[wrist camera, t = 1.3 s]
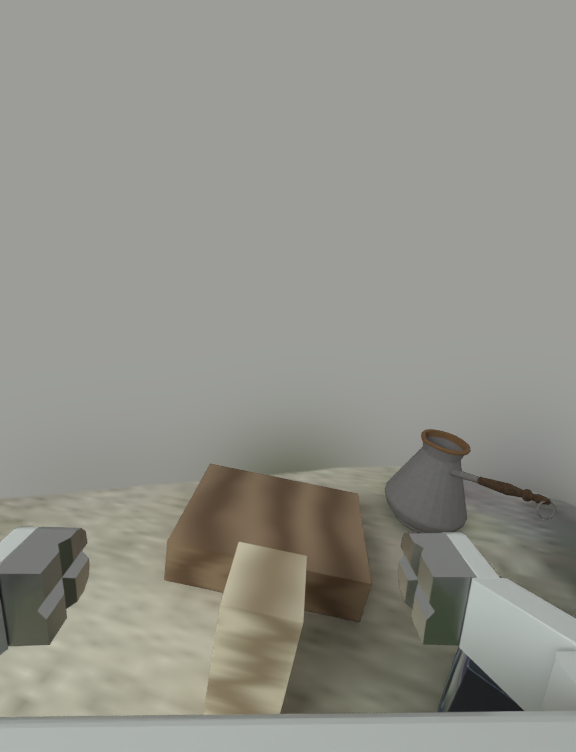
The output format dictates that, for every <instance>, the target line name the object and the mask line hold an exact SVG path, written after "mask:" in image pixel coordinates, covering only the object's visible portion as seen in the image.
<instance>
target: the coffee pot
mask: <svg viewBox="0 0 576 752" xmlns="http://www.w3.org/2000/svg"><path fill="white" fill-rule="evenodd" d="M421 437H422V440H423V447H422V448H421V449H420V450H419V451H418V452H417V453H416V454H415V455H414V456H413V457H412V458H411V459H410V460H409V461H408V462H407V463H406V464H405V465H404V466H403V467H402V468H401V469H400V470H399V471H398V472H397V473H396V474H395V475H394V476H393V477H392V478H391V479H390V480H389V481H388V482H387V484H386V487H385V493H386V498H387V502H388V504H389V506H390V507H391V509H392V511H393V512H394V513H395V515H396V517H397V518H398V519H399V520H400V521H401V522H402V523H403V524H404V525H406V526H407V527H409V528H410V529H412V530H414V531H416V532H419V533H442V532H455V531H456V530H458V529H460V528H461V527H462V526H463V525H464V524H465V522H466V520H467V513H466V504H465V495H464V486H463V479H465V480H469V481H472V482H476V483H478V484H480V485H483V486H485V487H488V488H490V489H493V490H495V491H498V492H500V493H503V494H505V495H511V496H517V497H522V499H523V500H525V501H527V502H528V501H531V500H533V501H535V502H536V503H539V504H538V505H537V509H536V511H537V515H538V516H539V517H540V518H542V517H541V516H540V514H539V507H540V505H541V504H547V505H549V504H550V503H551V504H552V505H553V513H552V515H551V516H550V517H548V518H542V519H545V520H548V519H551V518H552V517H553V516H554V515H555V511H556V509H555V505H554V504H553V503H552V502H551V501H550V499H548V498H546V497H544V496H542V495H539V494H533V493H532V492H531V491H530V490H528V489H525V490H522V489H520V488H517V487H515V486H513V485H511V484H508V483H504V482H500V481H495V480H491V479H487V478H483V477H477V476H474V475H471V474H469V473H466V472H462V469H461V459H462V458H463V456H464V455H466V454H468V453H469V452H470V446H469V445H468V444H467V443H466V442H465V441H463V440H462V439H460V438H458V437H457V436H455V435H452V434H450V433H447V432H443V431H439V430H431V429H430V430H425V431H423V432H422V434H421Z"/></svg>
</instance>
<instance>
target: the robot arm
mask: <svg viewBox="0 0 576 752" xmlns="http://www.w3.org/2000/svg"><path fill="white" fill-rule="evenodd" d="M86 544H87V537H86V531H85V530H83V529H82V528H63V527H25V526H22V527H18V528H15V529H14V530H13V531H12V532H11V533H9V534H8V535H7V536H6V537H5V538H4V539H3V540H2V541H1V542H0V655H1V654H2V653H3V652H5V651H6V650H7V649H8V646H33V645H50V643H51V642H52V640H53V639H54V637H55V636H56V634H57V632H58V631H59V629H60V628H61V626H62V625H63V623H64V622H65V620H66V618H67V614H66V609H67V608H68V607H70V606H71V605H73V604H74V603H76V602H77V601H78V600H79V598H80V596H81V595H82V593H83V591H84V589H85V586H86V583H87V580H88V576H89V558H88V557H87V556H86V555H85V554H84V553H83V551H82V550H83V548H84V547H85V546H86ZM401 548H402V550H403V552H404V554H405V555H404V557H403V558H402V559H401V560H400V561H399V566H398V580H399V587H400V591H401V594H402V597H403V599H404V602H405V603H406V604H407V605H408V606H410V607H411V608H412V609H413V612H412V621H413V623H414V625H415V628H416V630H417V632H418V635H419V637H420V639H421V641H422V644H428V645H460V646H459V648H460V649H461V650H462V651H463V652H464V653H465V654H466V655H467V656H469V657H470V658H471V659H472V660H473V661H474V662H475V663H476V664H477V665H478V666H479V667H480V668H481V669H482V670H483V671H484V672H485V673H486V674H487V675H488V676H489V677H490V678H491V679H492V680H493V681H494V682H495V683H496V684H497V685H498V686H499V687H500V688H501V689H502V690H503V691H505V692H506V693H507V694H508V695H509V696H510V697H511V698H512V699H513V700H514V701H515V702H516V703H517V704H518V705H519V706H520V707H521V708H522V709H523V710H524V711H499V712H421V713H314V714H222V715H135V716H45V717H0V752H576V619H575V618H574V617H572V616H570V615H569V614H567V613H565V612H563V611H562V610H560V609H558V608H557V607H555V606H553V605H551V604H550V603H548V602H546V601H545V600H543V599H541V598H539V597H538V596H536V595H534V594H533V593H531V592H529V591H527V590H526V589H524V588H522V587H521V586H519V585H517V584H515V583H514V582H512V581H510V580H509V579H507V578H500V577H499V576H498V575H497V573H496V572H495V571H494V570H493V568H492V567H491V566H490V565H489V563H488V562H487V561H486V560H485V558H484V557H483V556H482V555H481V553H480V552H479V551H478V550H477V548H476V547H475V546H474V545H473V543H472V542H471V541H470V540H469V539H468V537H467V536H466V535H465V534H463V533H462V532H442V533H404V535H403V537H402V543H401Z"/></svg>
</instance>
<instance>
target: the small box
mask: <svg viewBox="0 0 576 752" xmlns="http://www.w3.org/2000/svg"><path fill="white" fill-rule="evenodd" d="M500 578H501V577H500ZM570 616H571V615H570ZM572 617H573V616H572ZM499 711H524V710H523V709H522V708H521V707H520V706H519V705H518V704H517V703H516V702H515V701H514V700H513V699H512V698H511V697H510V696H509V695H508V694H507V693H506V692H505V691H503V690H502V689H501V688H500V687H499V686H498V685H497V684H496V683H495V682H494V681H493V680H492V679H491V678H490V677H489V676H488V675H487V674H486V673H485V672H484V671H483V670H482V669H481V668H480V667H479V666H478V665H477V664H476V663H475V662H474V661H473V660H472V659H471V658H470V657H469V656H467V655H466V654H465V653H464V652H463V651H462V650H461V649H460V648H458V651H457V653H456V656H455V659H454V662H453V665H452V668H451V671H450V674H449V676H448V679H447V682H446V685H445V689H444V692H443V695H442V698H441V701H440V705H439V708H438V711H437V712H499Z"/></svg>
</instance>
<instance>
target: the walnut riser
mask: <svg viewBox="0 0 576 752" xmlns="http://www.w3.org/2000/svg"><path fill="white" fill-rule="evenodd" d="M239 542H243V543H248V544H252V545H257V546H262V547H267V548H271V549H276V550H281V551H286V552H290V553H295V554H300V555H305V556H307V564H306V583H305V602H304V610H306V611H311V612H316V613H320V614H325V615H330V616H334V617H339V618H344V619H348V620H353V621H358V622H359V621H360V618H361V615H362V612H363V609H364V606H365V603H366V600H367V597H368V594H369V591H370V587H371V577H370V570H369V564H368V557H367V551H366V544H365V538H364V531H363V524H362V518H361V511H360V505H359V498H358V494H357V493H352V492H347V491H342V490H337V489H332V488H327V487H322V486H317V485H312V484H308V483H303V482H298V481H293V480H288V479H283V478H278V477H273V476H268V475H263V474H258V473H253V472H248V471H244V470H239V469H234V468H229V467H224V466H219V465H214V464H210V465H209V467H208V469H207V471H206V472H205V474H204V476H203V478H202V479H201V481H200V483H199V485H198V487H197V489H196V490H195V492H194V494H193V496H192V498H191V499H190V501H189V503H188V505H187V507H186V508H185V510H184V512H183V514H182V516H181V517H180V519H179V521H178V523H177V525H176V527H175V528H174V530H173V532H172V534H171V536H170V537H169V539H168V541H167V553H166V565H165V578H164V580H167V581H171V582H176V583H181V584H185V585H190V586H195V587H199V588H204V589H209V590H213V591H218V592H223V593H224V590H225V586H226V583H227V580H228V576H229V573H230V569H231V566H232V563H233V559H234V556H235V553H236V549H237V546H238V543H239Z"/></svg>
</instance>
